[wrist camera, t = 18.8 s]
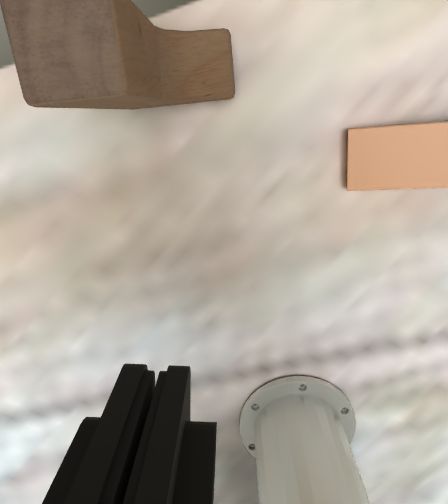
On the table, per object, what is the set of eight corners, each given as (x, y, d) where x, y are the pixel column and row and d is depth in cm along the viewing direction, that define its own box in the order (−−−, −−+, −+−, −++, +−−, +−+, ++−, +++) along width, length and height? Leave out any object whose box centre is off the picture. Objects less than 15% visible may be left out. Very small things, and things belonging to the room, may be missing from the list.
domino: (346, 187, 35) (474, 182, 32) (347, 190, 34) (480, 186, 31) (347, 128, 33) (482, 118, 31) (348, 129, 32) (489, 119, 29)
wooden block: (230, 38, 31) (227, -48, 14) (235, 98, 33) (238, 84, 16) (119, 50, 32) (-10, -19, 15) (129, 109, 33) (22, 108, 16)
